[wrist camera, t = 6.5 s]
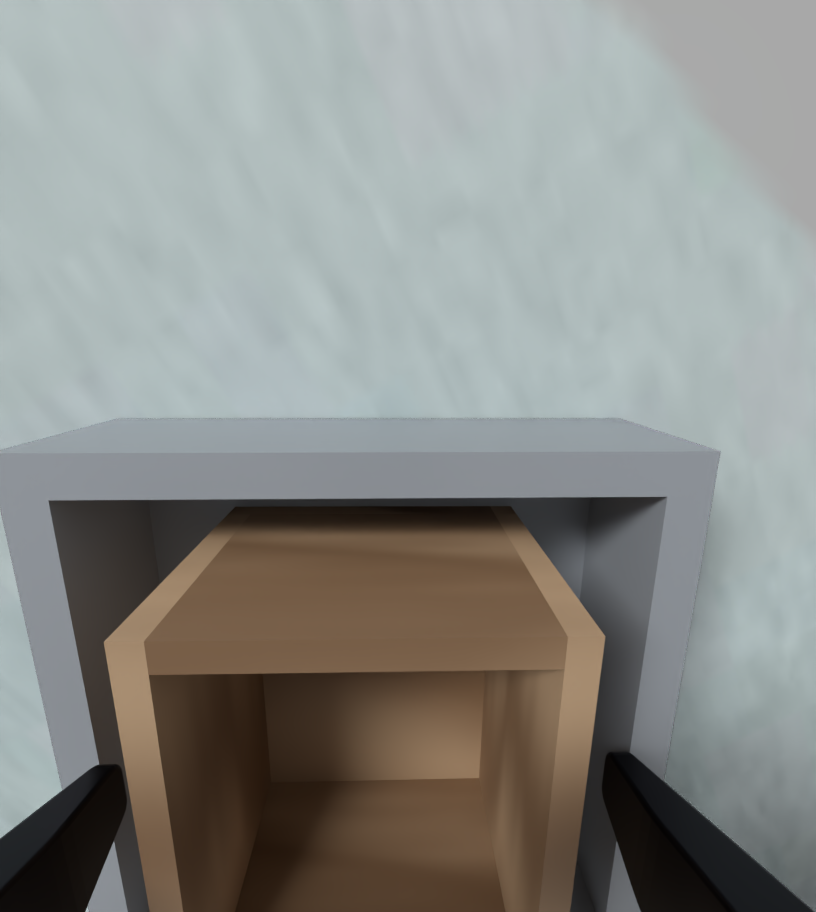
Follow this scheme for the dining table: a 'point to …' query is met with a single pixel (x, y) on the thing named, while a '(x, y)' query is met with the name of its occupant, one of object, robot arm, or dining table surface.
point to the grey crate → (360, 484)
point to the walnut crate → (359, 715)
